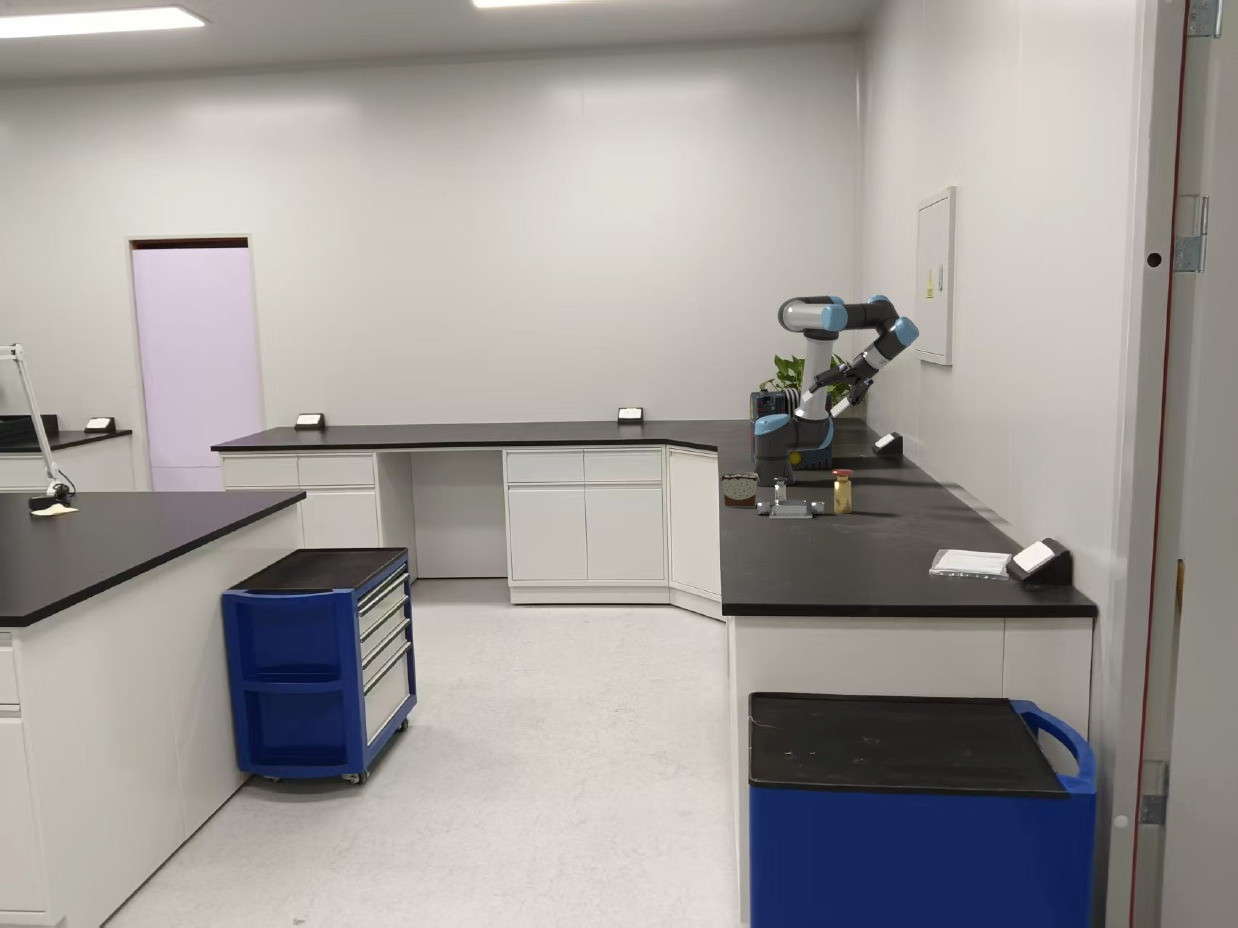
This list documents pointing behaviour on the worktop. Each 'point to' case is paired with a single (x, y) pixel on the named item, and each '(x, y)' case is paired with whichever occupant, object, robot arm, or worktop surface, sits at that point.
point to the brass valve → (842, 491)
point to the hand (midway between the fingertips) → (818, 407)
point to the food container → (739, 489)
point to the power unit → (786, 404)
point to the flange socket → (790, 509)
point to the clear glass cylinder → (780, 488)
